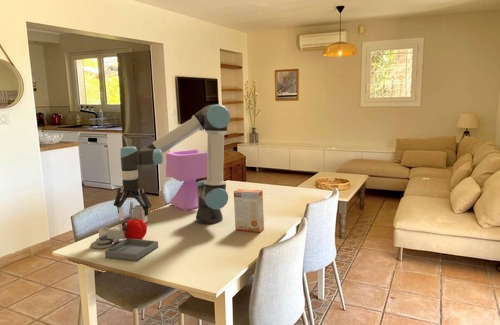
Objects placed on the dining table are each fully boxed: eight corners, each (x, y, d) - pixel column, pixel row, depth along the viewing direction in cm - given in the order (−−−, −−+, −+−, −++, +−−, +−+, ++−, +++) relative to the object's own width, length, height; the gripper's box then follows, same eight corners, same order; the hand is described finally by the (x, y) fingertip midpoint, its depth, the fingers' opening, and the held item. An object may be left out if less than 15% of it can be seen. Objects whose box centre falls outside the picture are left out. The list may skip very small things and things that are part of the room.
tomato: (124, 245, 180) (122, 222, 178) (122, 238, 190) (120, 216, 188) (149, 240, 184) (148, 219, 182) (146, 234, 195) (144, 213, 193)
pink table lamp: (215, 205, 246) (212, 151, 240) (182, 211, 233) (178, 155, 227) (199, 198, 265) (196, 149, 259) (168, 204, 252) (164, 152, 247)
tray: (158, 247, 175) (157, 241, 175) (137, 261, 160) (136, 254, 159) (128, 244, 180) (128, 238, 180) (105, 257, 165) (104, 251, 165)
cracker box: (264, 229, 195) (263, 189, 191) (259, 233, 189) (258, 192, 186) (240, 226, 201) (238, 188, 197) (235, 230, 195) (233, 190, 192)
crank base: (125, 240, 186) (124, 235, 186) (107, 250, 174) (106, 244, 174) (103, 238, 190) (103, 233, 190) (84, 247, 178) (84, 242, 178)
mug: (139, 225, 208) (137, 204, 207) (125, 223, 215) (123, 202, 213) (149, 222, 215) (148, 201, 213) (135, 219, 221) (133, 199, 219)
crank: (97, 239, 180) (95, 222, 179) (102, 236, 185) (101, 219, 183) (125, 240, 177) (123, 223, 176) (130, 237, 182) (129, 220, 181)
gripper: (157, 178, 182) (159, 220, 185) (114, 176, 190) (117, 216, 193) (148, 181, 175) (150, 225, 178) (103, 179, 183) (107, 221, 186)
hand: (133, 221), depth 185 cm, fingers open, 13 cm apart
